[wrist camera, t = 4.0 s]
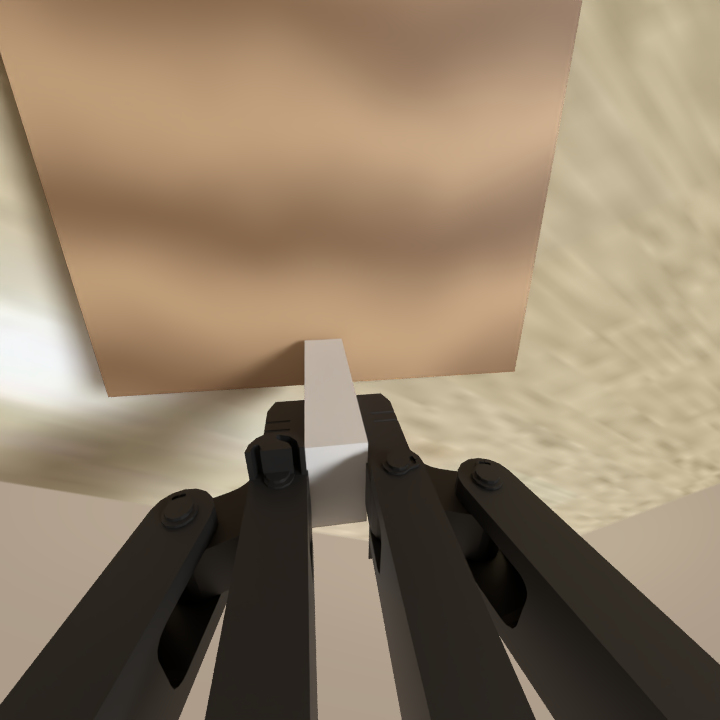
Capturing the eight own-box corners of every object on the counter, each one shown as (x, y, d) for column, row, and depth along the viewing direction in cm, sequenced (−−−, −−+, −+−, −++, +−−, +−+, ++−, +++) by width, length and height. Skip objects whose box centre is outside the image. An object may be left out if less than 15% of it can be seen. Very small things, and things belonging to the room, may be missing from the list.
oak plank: (25, -8, 11) (-34, -56, 9) (543, 31, 13) (582, 0, 11) (131, 376, 16) (108, 397, 14) (493, 356, 18) (514, 371, 16)
